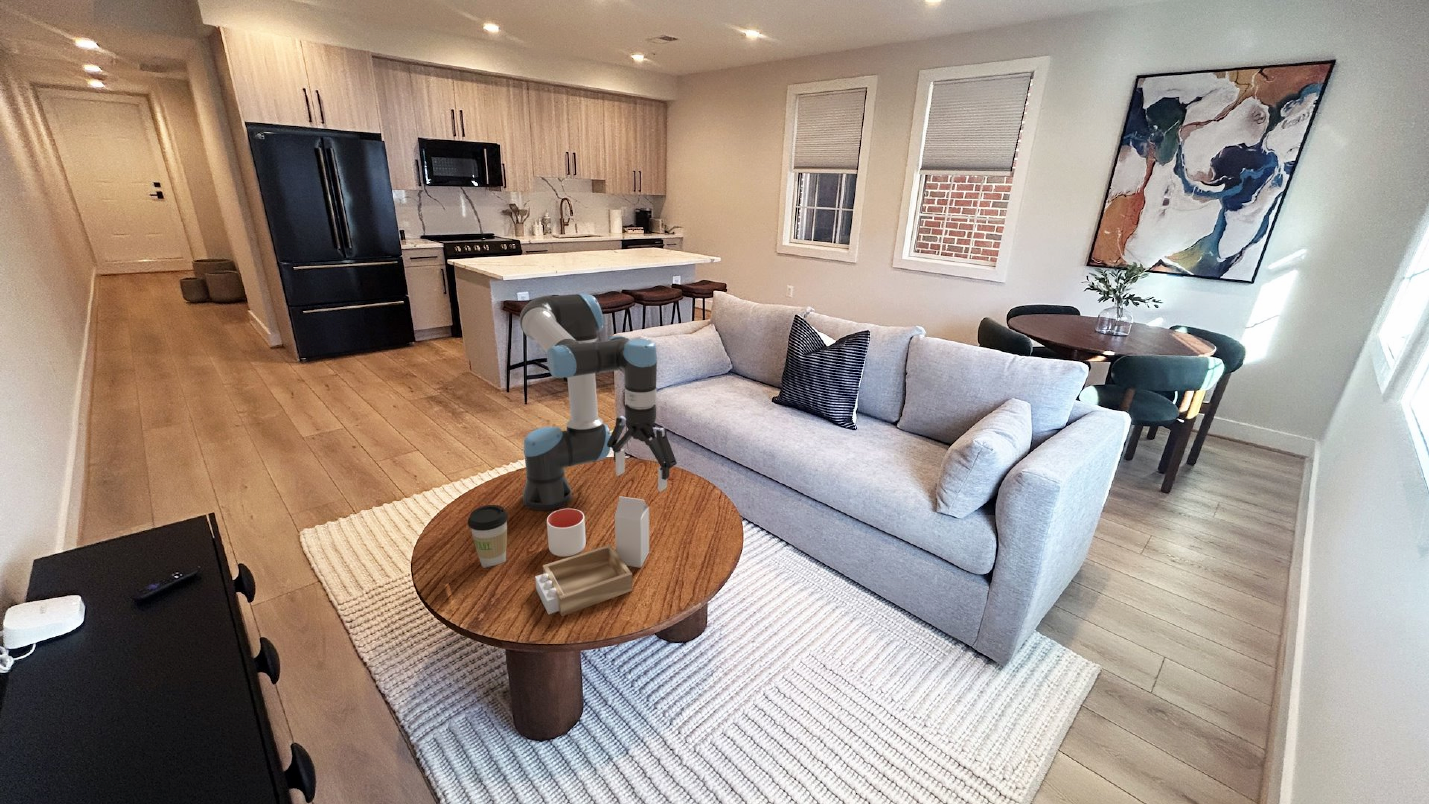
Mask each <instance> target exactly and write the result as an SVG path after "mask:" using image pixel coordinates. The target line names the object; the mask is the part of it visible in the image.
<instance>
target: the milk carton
mask: <svg viewBox="0 0 1429 804" xmlns="http://www.w3.org/2000/svg"><path fill="white" fill-rule="evenodd" d="M614 532H615V533H614V534H615V536H614V538H615V541H614V542H615V551H616V553H617V554H618V555H619V557H620V558H621V559H622V561H623V562H624V564H625V565H626V566H627V567H634V568H640V569H641V568H642V567H643V565H644V562H645V561H646V559H647V557H648V555H649V553H650V506H649V505H647V504H646V500H645V499H642V498H641V499H640V498H635V497H628V496H627V497H626V496H618V503H617V506H616V511H615V514H614Z"/></svg>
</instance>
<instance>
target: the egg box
mask: <svg viewBox="0 0 1429 804" xmlns="http://www.w3.org/2000/svg"><path fill="white" fill-rule="evenodd" d="M551 573H552V571H551ZM552 575H553V573H552ZM534 577H535V587H536V588H535V589H536V592H537V594H538V596H539V598H540V600H541V602H542V605H543V606H544V608H545V610H546V612H547V615H548V616H549V615H551V614H555V613H557V612H559V604H558V596H557V593H556V588H553V585H552V581H551V580H549V577H548V574H547V573H545V574H543V573H542V574H538V575H535V576H534ZM553 577H554V575H553ZM554 579H555V577H554ZM555 580H556V579H555ZM556 582H557V581H556ZM557 584H558V583H557ZM558 586H559V584H558ZM559 588H560V586H559ZM560 590H561V588H560ZM561 592H562V590H561ZM562 593H563V592H562ZM563 595H564V594H563Z"/></svg>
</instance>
